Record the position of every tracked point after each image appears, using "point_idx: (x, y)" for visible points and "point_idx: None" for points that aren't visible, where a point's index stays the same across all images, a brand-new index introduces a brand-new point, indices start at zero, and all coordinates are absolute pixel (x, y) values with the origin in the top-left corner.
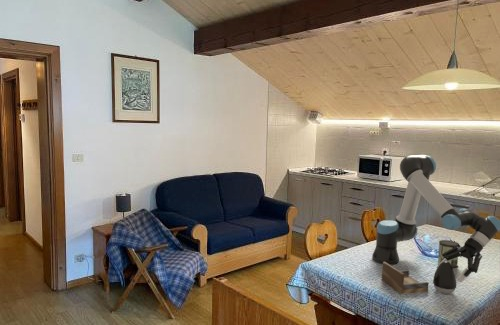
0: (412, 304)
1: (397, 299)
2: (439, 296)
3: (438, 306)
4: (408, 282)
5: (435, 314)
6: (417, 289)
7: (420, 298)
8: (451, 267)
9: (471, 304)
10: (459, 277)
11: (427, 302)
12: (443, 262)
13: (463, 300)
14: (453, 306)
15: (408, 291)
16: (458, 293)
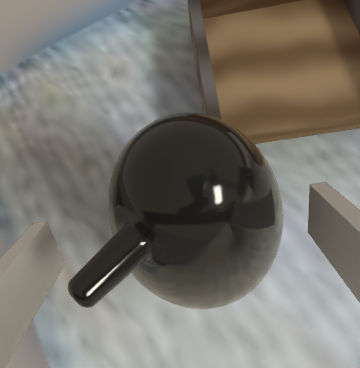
0: (102, 39)
1: (147, 7)
2: None
3: (66, 121)
4: (278, 71)
5: (18, 81)
6: (200, 86)
7: (143, 85)
8: (118, 210)
9: None
10: (24, 235)
11: (105, 96)
12: (185, 122)
13: None
14: (49, 183)
15: (194, 51)
16: (174, 317)
